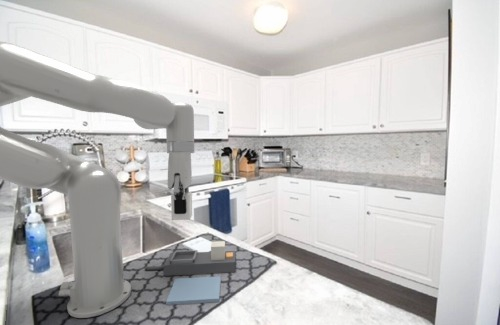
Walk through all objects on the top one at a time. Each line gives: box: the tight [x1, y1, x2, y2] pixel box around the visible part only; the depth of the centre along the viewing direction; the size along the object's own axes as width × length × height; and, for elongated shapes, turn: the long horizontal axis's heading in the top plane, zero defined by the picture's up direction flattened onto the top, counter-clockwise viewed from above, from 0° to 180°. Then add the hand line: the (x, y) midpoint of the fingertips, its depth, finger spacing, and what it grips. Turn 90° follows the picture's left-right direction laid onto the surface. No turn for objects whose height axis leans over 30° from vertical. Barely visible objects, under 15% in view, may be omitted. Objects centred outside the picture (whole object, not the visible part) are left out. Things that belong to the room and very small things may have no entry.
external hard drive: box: [181, 236, 213, 252], centre depth 81 cm, size 2×8×12 cm
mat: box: [165, 275, 222, 306], centre depth 57 cm, size 12×9×1 cm
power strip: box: [144, 240, 236, 277], centre depth 67 cm, size 26×7×7 cm, turn 95°
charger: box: [170, 191, 193, 221], centre depth 66 cm, size 5×4×8 cm
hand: (182, 210), depth 66 cm, fingers closed on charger, 4 cm apart
